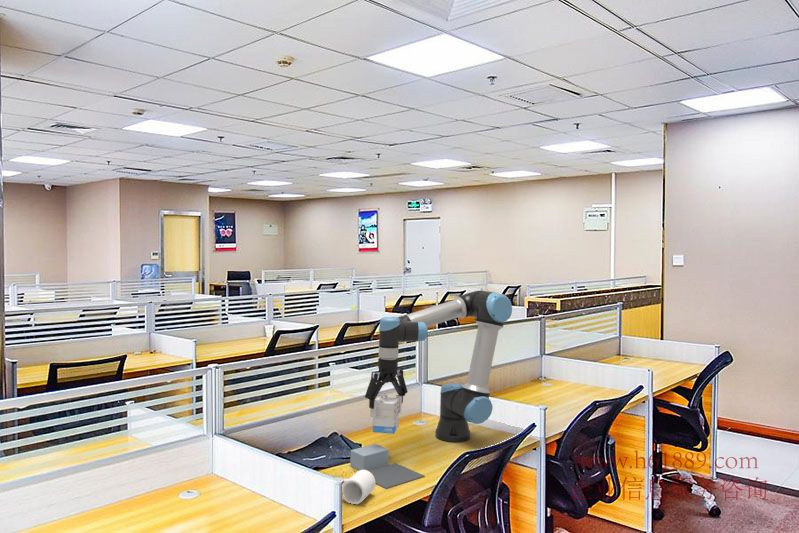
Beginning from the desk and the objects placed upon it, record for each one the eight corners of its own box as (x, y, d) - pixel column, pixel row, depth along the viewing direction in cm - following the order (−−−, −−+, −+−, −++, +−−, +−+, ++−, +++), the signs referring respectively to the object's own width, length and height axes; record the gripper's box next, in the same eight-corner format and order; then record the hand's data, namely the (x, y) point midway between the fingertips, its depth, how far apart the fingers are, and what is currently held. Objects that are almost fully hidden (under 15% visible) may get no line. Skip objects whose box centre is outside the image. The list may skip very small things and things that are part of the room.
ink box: (393, 434, 233) (394, 399, 233) (372, 432, 235) (372, 397, 235) (399, 427, 242) (399, 393, 241) (378, 425, 244) (378, 391, 243)
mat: (395, 463, 236) (395, 462, 236) (424, 476, 224) (424, 475, 224) (357, 474, 224) (357, 473, 224) (386, 489, 212) (386, 487, 212)
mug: (375, 494, 207) (376, 471, 207) (364, 506, 198) (364, 482, 197) (342, 489, 211) (342, 466, 211) (329, 500, 202) (330, 476, 201)
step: (375, 459, 240) (375, 443, 240) (388, 465, 234) (389, 449, 234) (350, 466, 232) (350, 450, 232) (363, 472, 226) (363, 456, 226)
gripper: (405, 353, 248) (403, 407, 249) (356, 359, 233) (354, 416, 233) (418, 356, 242) (415, 412, 243) (368, 362, 227) (366, 421, 228)
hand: (385, 414), depth 238 cm, fingers closed on ink box, 12 cm apart
